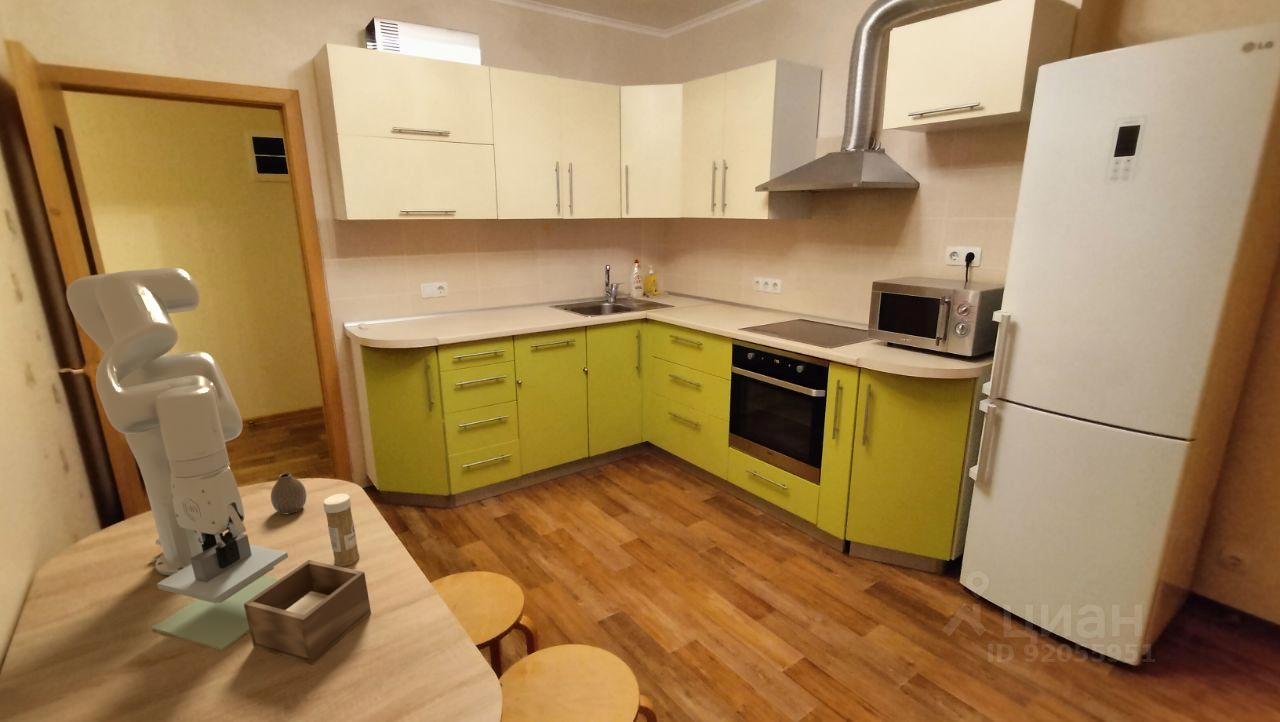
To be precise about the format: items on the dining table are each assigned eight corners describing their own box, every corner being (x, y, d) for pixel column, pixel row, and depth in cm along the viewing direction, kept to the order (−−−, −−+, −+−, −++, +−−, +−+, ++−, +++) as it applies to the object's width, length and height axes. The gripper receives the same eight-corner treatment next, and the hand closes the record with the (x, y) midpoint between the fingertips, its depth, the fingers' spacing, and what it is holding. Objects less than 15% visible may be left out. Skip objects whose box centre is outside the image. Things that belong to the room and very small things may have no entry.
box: (253, 647, 92) (243, 603, 89) (316, 599, 102) (308, 559, 100) (312, 664, 88) (303, 619, 86) (371, 613, 99) (364, 572, 97)
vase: (266, 516, 131) (259, 481, 128) (289, 501, 137) (282, 467, 135) (293, 518, 130) (286, 483, 127) (315, 503, 136) (309, 469, 134)
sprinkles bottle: (361, 562, 113) (351, 499, 110) (335, 570, 111) (324, 506, 107) (357, 551, 117) (347, 490, 113) (332, 558, 114) (321, 497, 111)
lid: (160, 596, 95) (151, 561, 94) (236, 552, 107) (228, 521, 105) (217, 611, 91) (209, 575, 90) (289, 564, 103) (283, 532, 101)
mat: (152, 629, 96) (152, 627, 96) (243, 572, 111) (243, 570, 110) (222, 650, 91) (222, 648, 91) (308, 588, 106) (308, 586, 105)
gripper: (140, 466, 93) (167, 566, 97) (212, 478, 88) (237, 584, 92) (188, 447, 100) (211, 542, 104) (258, 458, 95) (279, 557, 99)
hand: (223, 561), depth 98 cm, fingers closed on lid
